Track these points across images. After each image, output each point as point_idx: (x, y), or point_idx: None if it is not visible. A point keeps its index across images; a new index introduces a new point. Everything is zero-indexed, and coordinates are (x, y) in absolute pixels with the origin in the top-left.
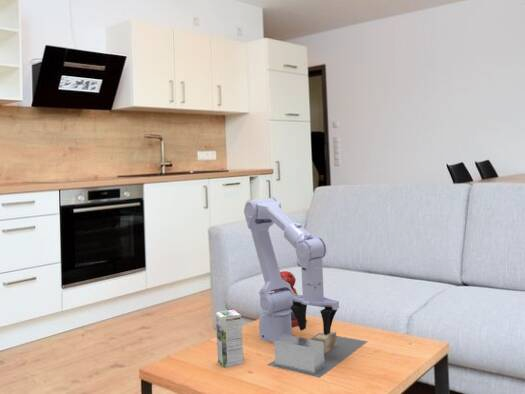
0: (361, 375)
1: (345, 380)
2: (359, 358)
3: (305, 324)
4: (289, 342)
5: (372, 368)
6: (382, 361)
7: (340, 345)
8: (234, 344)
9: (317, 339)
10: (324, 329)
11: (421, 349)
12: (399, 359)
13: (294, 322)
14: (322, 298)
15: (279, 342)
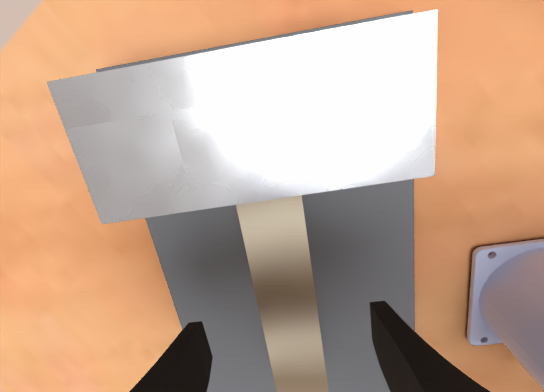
0: (44, 221)
1: (46, 149)
2: (160, 327)
3: (381, 363)
4: (283, 57)
5: (66, 288)
6: (87, 346)
7: (269, 366)
8: None
9: (289, 310)
10: (179, 346)
11: None
12: (63, 382)
13: None
14: None
15: (374, 23)
